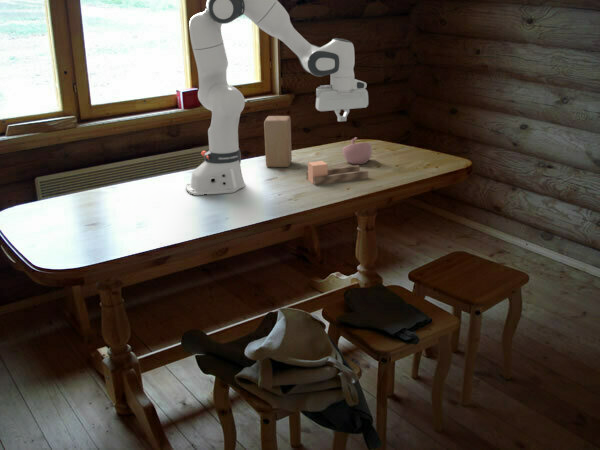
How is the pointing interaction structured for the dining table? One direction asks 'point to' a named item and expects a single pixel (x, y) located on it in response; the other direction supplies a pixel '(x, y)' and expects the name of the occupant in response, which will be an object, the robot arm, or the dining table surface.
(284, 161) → the wooden block
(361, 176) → the chute
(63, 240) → the dining table surface
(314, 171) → the block
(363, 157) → the mortar and pestle
